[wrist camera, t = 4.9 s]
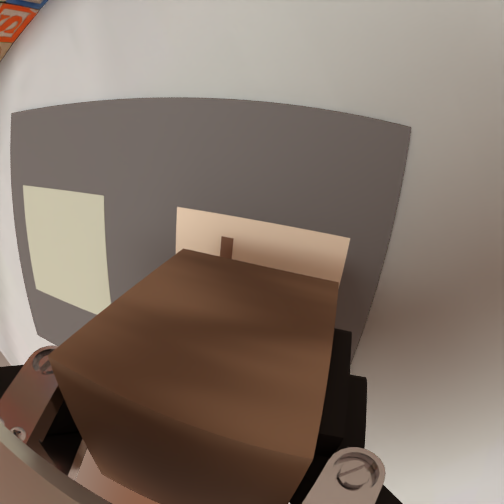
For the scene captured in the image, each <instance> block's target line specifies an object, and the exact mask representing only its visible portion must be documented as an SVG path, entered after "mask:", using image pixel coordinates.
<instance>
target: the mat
mask: <svg viewBox="0 0 504 504" xmlns="http://www.w3.org/2000/svg"><path fill="white" fill-rule="evenodd" d="M410 133H411V127H408V126H404V125H400V124H395V123H391V122H387V121H383V120H378V119H373V118H369V117H364V116H359V115H354V114H348V113H343V112H337V111H331V110H325V109H319V108H312V107H305V106H297V105H289V104H281V103H272V102H261V101H249V100H235V99H217V98H134V99H116V100H103V101H91V102H82V103H73V104H65V105H57V106H50V107H44V108H37V109H32V110H26V111H21V112H15V113H12V115H11V145H10V155H11V186H12V200H13V212H14V221H15V229H16V237H17V244H18V251H19V257H20V262H21V268H22V273H23V278H24V283H25V288H26V292H27V297H28V301H29V305H30V309H31V313H32V317H33V320H34V324H35V328H36V331H37V334H38V335H39V336H41V337H42V338H44V339H46V340H48V341H49V342H51V343H53V344H55V345H57V346H60V345H61V344H62V343H63V342H65V341H66V340H67V339H68V338H69V337H71V336H72V335H73V334H74V333H75V332H77V331H78V330H79V329H80V328H82V327H83V326H84V325H85V324H87V323H88V322H89V321H90V320H91V319H93V318H94V317H95V316H96V315H98V314H99V313H100V312H101V311H103V310H104V309H105V308H106V307H108V306H109V305H110V304H112V303H113V302H114V301H115V300H117V299H118V298H119V297H120V296H122V295H123V294H124V293H126V292H127V291H128V290H129V289H131V288H132V287H133V286H135V285H136V284H137V283H138V282H140V281H141V280H142V279H144V278H145V277H146V276H148V275H149V274H150V273H151V272H153V271H154V270H155V269H157V268H158V267H159V266H161V265H162V264H163V263H165V262H166V261H167V260H169V259H170V258H171V257H173V256H174V255H175V254H177V253H178V252H179V251H181V250H182V249H183V248H184V249H189V250H193V251H197V252H202V253H206V254H211V255H215V256H220V257H224V258H229V259H233V260H238V261H242V262H247V263H252V264H256V265H261V266H265V267H270V268H274V269H279V270H284V271H288V272H293V273H297V274H302V275H307V276H311V277H316V278H321V279H326V280H330V281H335V282H339V288H338V299H337V309H336V318H335V327H334V328H337V329H342V330H346V331H351V332H352V342H351V362H352V359H353V357H354V354H355V351H356V349H357V346H358V343H359V340H360V337H361V334H362V332H363V329H364V326H365V323H366V320H367V317H368V314H369V311H370V307H371V304H372V301H373V298H374V295H375V291H376V288H377V284H378V281H379V278H380V274H381V271H382V267H383V263H384V260H385V256H386V252H387V248H388V244H389V240H390V236H391V232H392V228H393V224H394V219H395V215H396V210H397V206H398V201H399V196H400V191H401V186H402V181H403V176H404V170H405V165H406V159H407V153H408V146H409V140H410ZM351 362H350V365H351Z"/></svg>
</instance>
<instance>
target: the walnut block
mask: <svg viewBox="0 0 504 504" xmlns="http://www.w3.org/2000/svg"><path fill="white" fill-rule="evenodd" d="M338 288H339V282H335V281H330V280H326V279H321V278H316V277H311V276H307V275H302V274H297V273H293V272H288V271H284V270H279V269H274V268H270V267H265V266H261V265H256V264H252V263H247V262H242V261H238V260H233V259H229V258H224V257H220V256H215V255H211V254H206V253H202V252H197V251H193V250H189V249H184V248H183V249H182V250H181V251H179V252H178V253H177V254H175V255H174V256H173V257H171V258H170V259H169V260H167V261H166V262H165V263H163V264H162V265H161V266H159V267H158V268H157V269H155V270H154V271H153V272H151V273H150V274H149V275H148V276H146V277H145V278H144V279H142V280H141V281H140V282H138V283H137V284H136V285H135V286H133V287H132V288H131V289H129V290H128V291H127V292H126V293H124V294H123V295H122V296H120V297H119V298H118V299H117V300H115V301H114V302H113V303H112V304H110V305H109V306H108V307H106V308H105V309H104V310H103V311H101V312H100V313H99V314H98V315H96V316H95V317H94V318H93V319H91V320H90V321H89V322H88V323H87V324H85V325H84V326H83V327H82V328H80V329H79V330H78V331H77V332H75V333H74V334H73V335H72V336H71V337H69V338H68V339H67V340H66V341H65V342H63V343H62V344H61V345H60V346H59V347H57V348H56V349H55V350H54V351H53V352H51V353H50V354H49V355H48V358H49V361H50V364H51V367H52V370H53V372H54V375H55V378H56V380H57V383H58V385H59V388H60V390H61V393H62V395H63V397H64V400H65V402H66V404H67V407H68V409H69V411H70V413H71V416H72V418H73V420H74V422H75V424H76V426H77V428H78V430H79V432H80V434H81V436H82V438H83V440H84V442H85V444H86V446H87V448H88V450H89V452H90V454H91V455H92V457H93V459H94V461H95V463H96V464H97V466H98V468H99V470H100V471H101V473H102V474H103V475H104V476H106V477H108V478H110V479H112V480H113V481H115V482H117V483H119V484H121V485H123V486H124V487H127V488H128V489H130V490H132V491H134V492H136V493H138V494H140V495H142V496H145V497H147V498H149V499H151V500H153V501H155V502H158V503H160V504H288V503H289V501H290V499H291V498H292V496H293V494H294V493H295V491H296V489H297V488H298V486H299V484H300V482H301V481H302V479H303V477H304V475H305V473H306V472H307V470H308V468H309V466H310V464H311V462H312V460H313V457H314V453H315V448H316V443H317V438H318V432H319V427H320V422H321V416H322V411H323V405H324V399H325V393H326V386H327V380H328V373H329V366H330V359H331V351H332V344H333V335H334V327H335V318H336V309H337V299H338Z"/></svg>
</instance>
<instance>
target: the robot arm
mask: <svg viewBox="0 0 504 504" xmlns="http://www.w3.org/2000/svg"><path fill="white" fill-rule="evenodd" d="M351 342H352V332H351V331H346V330H342V329H337V328H334V335H333V344H332V351H331V359H330V366H329V373H328V380H327V386H326V393H325V399H324V405H323V411H322V416H321V422H320V427H319V432H318V438H317V443H316V448H315V453H314V457H313V460H312V462H311V464H310V466H309V468H308V470H307V472H306V473H305V475H304V477H303V479H302V481H301V482H300V484H299V486H298V488H297V489H296V491H295V493H294V494H293V496H292V498H291V499H290V501H289V502H290V504H402V503H401V502H400V501H399V500H398V499H397V498H396V497H395V496H394V495H393V494H392V493H391V492H390V491H389V490H388V489H387V488H386V487H385V486H384V485H383V483H384V479H385V474H386V473H385V467H384V465H383V463H382V461H381V459H380V458H379V457H378V456H376V455H375V454H374V453H373V452H371V451H369V450H367V449H364V447H365V431H366V406H367V379H366V377H360V376H355V375H350V362H351ZM57 347H59V346H46V347H43V348H40V349H38V350H36V351H35V352H34V353H33V354H32V355H31V356H30V357H29V359H28V360H27V361H26V363H25V364H24V365H17V366H6V367H0V504H112V503H110V502H108V501H107V500H105V499H103V498H101V497H100V496H98V495H96V494H95V493H93V492H91V491H90V490H88V489H87V488H85V487H83V486H82V485H80V484H79V483H77V482H76V481H75V479H76V477H77V474H78V471H79V469H80V466H81V463H82V461H83V458H84V455H85V453H86V450H87V446H86V444H85V442H84V440H83V438H82V436H81V434H80V432H79V430H78V428H77V426H76V424H75V422H74V420H73V418H72V416H71V413H70V411H69V409H68V407H67V404H66V402H65V400H64V397H63V395H62V393H61V390H60V388H59V385H58V383H57V380H56V378H55V375H54V372H53V370H52V367H51V364H50V361H49V358H48V355H49V354H50V353H51V352H53V351H54V350H55V349H56V348H57Z"/></svg>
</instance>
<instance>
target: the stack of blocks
mask: <svg viewBox="0 0 504 504" xmlns="http://www.w3.org/2000/svg"><path fill="white" fill-rule="evenodd" d="M47 1H48V0H0V61H1V59H2V58H3V57H4V55H5V54H6V52H7V51H8V49H9V48H10V46H11V45H12V43H13V42H14V41H15V40H16V39H17V37H18V36H19V35H20V33H21V32H22V31H23V30H24V28H25V27H26V26H27V25H28V24H29V22H30V21H31V20H32V19H33V18H34V16H35V15H36V14H37V13H38V11H39V9H40V8H42V7H43V5H44V4H45V3H46V2H47Z"/></svg>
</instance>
